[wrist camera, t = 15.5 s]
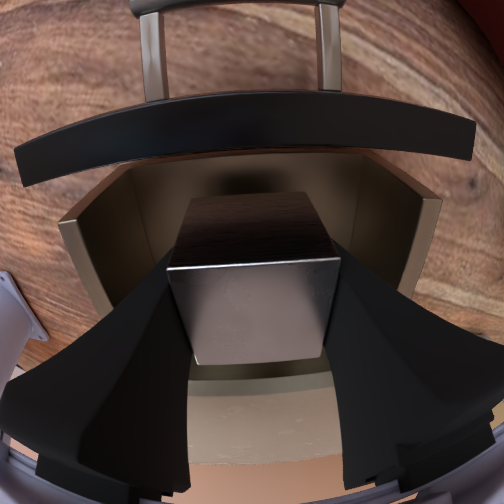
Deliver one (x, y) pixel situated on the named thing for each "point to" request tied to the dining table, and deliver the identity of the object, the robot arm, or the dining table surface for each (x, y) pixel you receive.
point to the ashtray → (489, 21)
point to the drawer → (246, 170)
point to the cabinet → (262, 420)
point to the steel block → (253, 278)
